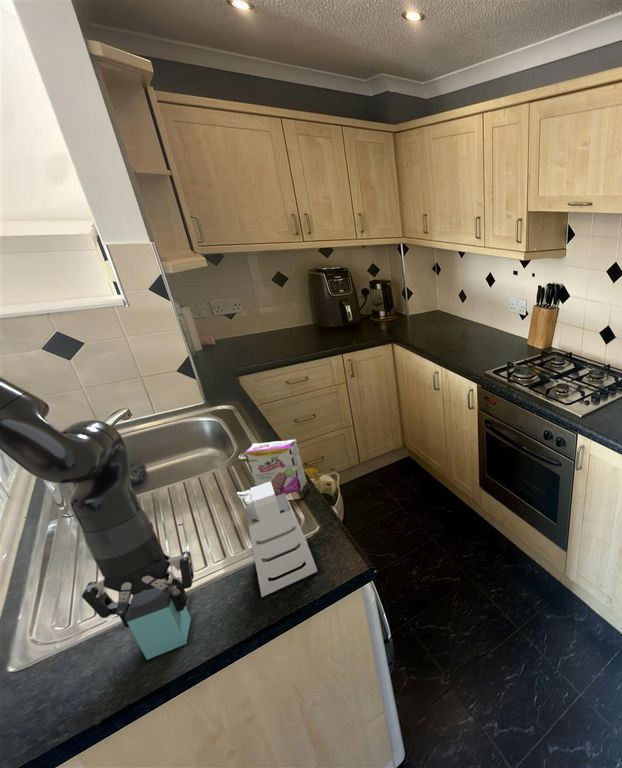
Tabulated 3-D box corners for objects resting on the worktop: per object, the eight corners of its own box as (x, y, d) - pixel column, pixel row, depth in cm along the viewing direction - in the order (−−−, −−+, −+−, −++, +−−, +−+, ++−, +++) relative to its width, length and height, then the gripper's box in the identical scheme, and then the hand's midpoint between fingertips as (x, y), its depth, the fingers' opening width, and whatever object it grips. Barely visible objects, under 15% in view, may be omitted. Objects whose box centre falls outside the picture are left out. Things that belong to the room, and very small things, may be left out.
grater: (307, 543, 94) (287, 470, 87) (317, 571, 86) (296, 493, 79) (255, 565, 89) (229, 488, 82) (261, 597, 81) (232, 515, 74)
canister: (156, 657, 73) (127, 665, 64) (150, 592, 77) (122, 591, 67) (194, 642, 75) (171, 647, 66) (187, 580, 79) (164, 577, 70)
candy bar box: (260, 505, 109) (243, 452, 103) (267, 494, 113) (251, 442, 107) (304, 499, 110) (290, 447, 104) (309, 489, 115) (296, 438, 109)
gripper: (51, 574, 59) (98, 654, 65) (174, 536, 65) (206, 612, 71) (71, 543, 65) (112, 619, 71) (182, 511, 72) (211, 583, 78)
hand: (159, 615), depth 71 cm, fingers open, 6 cm apart
